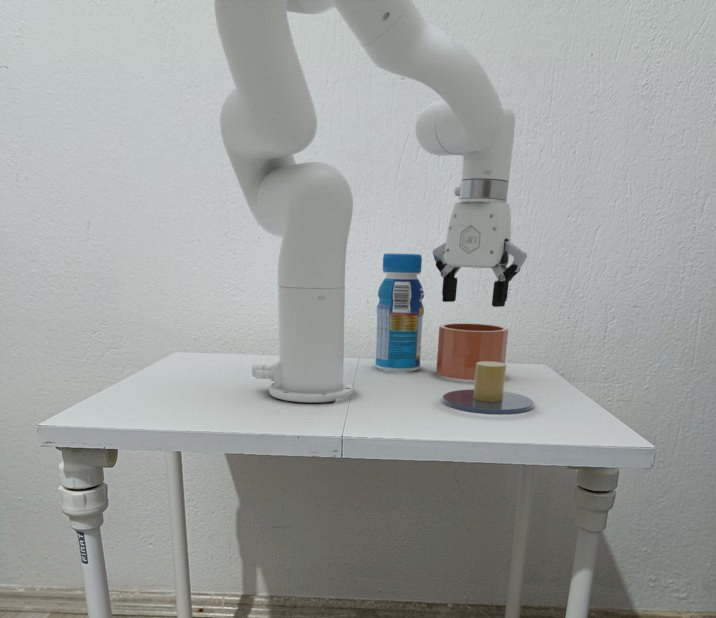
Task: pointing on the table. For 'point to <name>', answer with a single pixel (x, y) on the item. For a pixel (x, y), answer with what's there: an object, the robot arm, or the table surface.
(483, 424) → the table surface
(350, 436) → the table surface
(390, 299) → the beverage bottle
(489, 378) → the cover
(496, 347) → the tin
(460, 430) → the table surface
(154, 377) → the table surface
